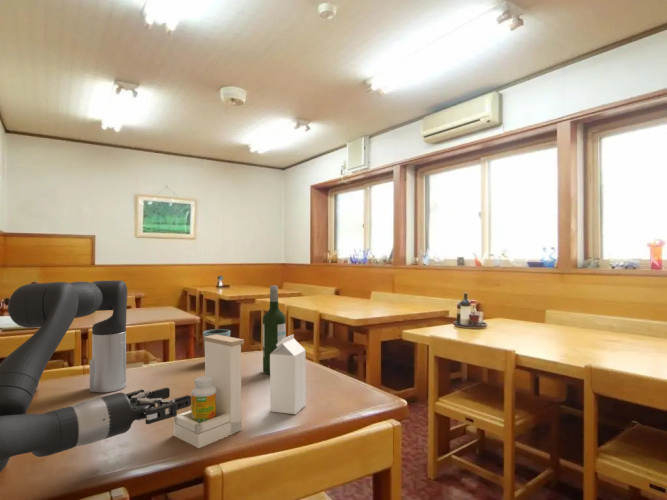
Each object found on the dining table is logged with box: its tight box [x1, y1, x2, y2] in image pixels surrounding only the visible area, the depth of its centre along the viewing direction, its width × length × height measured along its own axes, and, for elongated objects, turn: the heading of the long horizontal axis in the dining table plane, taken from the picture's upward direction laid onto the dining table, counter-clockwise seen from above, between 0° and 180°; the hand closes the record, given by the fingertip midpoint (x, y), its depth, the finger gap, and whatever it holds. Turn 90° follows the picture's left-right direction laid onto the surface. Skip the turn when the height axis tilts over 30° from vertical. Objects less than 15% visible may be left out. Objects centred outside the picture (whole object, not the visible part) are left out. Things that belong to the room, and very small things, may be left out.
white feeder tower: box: [173, 334, 245, 449], centre depth 95 cm, size 12×11×21 cm
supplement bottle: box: [190, 375, 216, 423], centre depth 94 cm, size 5×5×10 cm
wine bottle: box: [262, 285, 287, 376], centre depth 144 cm, size 8×8×30 cm
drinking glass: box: [202, 328, 231, 353], centre depth 158 cm, size 10×10×12 cm
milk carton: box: [269, 333, 307, 415], centre depth 109 cm, size 7×7×19 cm
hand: (179, 396), depth 89 cm, fingers open, 8 cm apart
